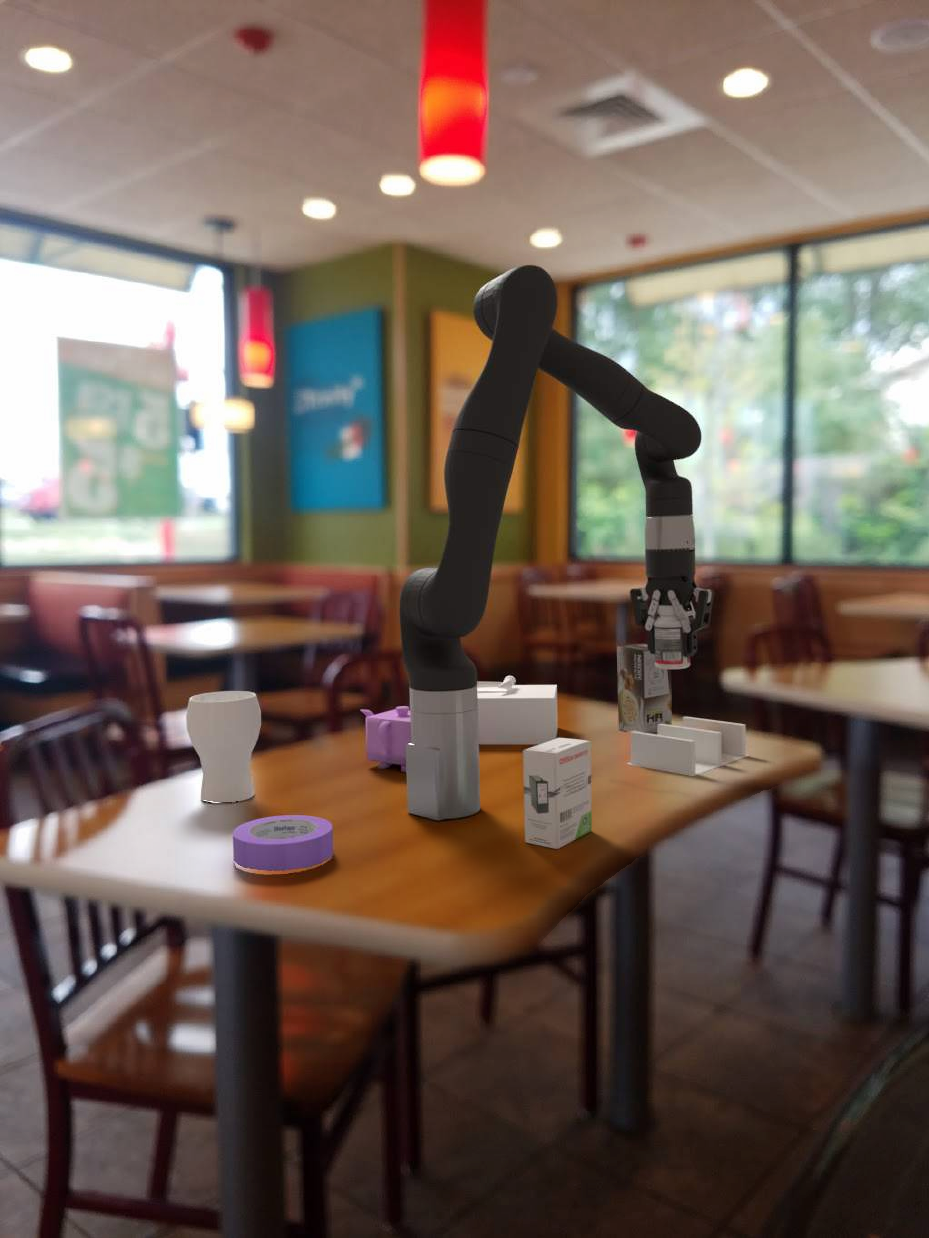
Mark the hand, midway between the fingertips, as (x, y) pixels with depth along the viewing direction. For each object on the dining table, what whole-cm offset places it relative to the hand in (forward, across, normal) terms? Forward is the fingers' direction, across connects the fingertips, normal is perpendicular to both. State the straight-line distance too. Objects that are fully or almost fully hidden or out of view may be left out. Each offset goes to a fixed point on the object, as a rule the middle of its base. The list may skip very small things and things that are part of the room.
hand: (672, 654), depth 149 cm
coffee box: (+19, -19, +20) cm, 34 cm away
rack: (+18, 0, +3) cm, 19 cm away
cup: (+17, -42, -54) cm, 71 cm away
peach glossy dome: (+17, 0, +7) cm, 19 cm away
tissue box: (+18, -40, 0) cm, 44 cm away
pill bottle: (+2, 0, 0) cm, 2 cm away
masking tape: (+17, -13, -64) cm, 68 cm away
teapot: (+18, -36, -24) cm, 47 cm away
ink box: (+18, +7, -38) cm, 42 cm away
